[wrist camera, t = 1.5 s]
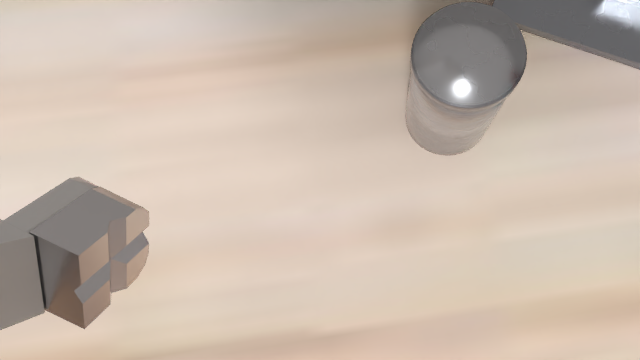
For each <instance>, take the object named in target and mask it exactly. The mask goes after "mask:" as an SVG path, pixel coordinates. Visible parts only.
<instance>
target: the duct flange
mask: <svg viewBox="0 0 640 360" xmlns="http://www.w3.org/2000/svg"><path fill="white" fill-rule="evenodd" d="M492 6H493V7H495V8H497V9H499V10H501V11H502V12H504V13H505V14H506V15H508V16H509V17H510V18H511V19H512V20H513V21H514V22H515V24H516V25H517V26H518V28H519V29H520V30H523V31H526V32H529V33H532V34H535V35H538V36H541V37H544V38H547V39H550V40H553V41H556V42H559V43H562V44H565V45H568V46H571V47H574V48H577V49H580V50H583V51H586V52H589V53H592V54H595V55H598V56H601V57H604V58H607V59H610V60H613V61H616V62H619V63H622V64H625V65H628V66H631V67H634V68H637V69H640V0H495V1H494V3H493V5H492Z"/></svg>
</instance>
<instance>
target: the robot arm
mask: <svg viewBox="0 0 640 360" xmlns="http://www.w3.org/2000/svg"><path fill="white" fill-rule="evenodd" d="M148 226H149V211H147V210H146V209H145V208H143V207H141V206H139V205H137V204H135V203H133V202H131V201H129V200H127V199H125V198H122V197H120V196H118V195H116V194H114V193H112V192H110V191H108V190H106V189H104V188H102V187H99V186H97V185H95V184H93V183H90V182H88V181H86V180H84V179H82V178H80V177H75V178H69V179H68V180H66V181H64V182H63V183H61V184H60V185H58V186H57V187H55V188H54V189H52V190H50V191H49V192H47V193H46V194H44V195H43V196H41V197H39V198H38V199H36V200H35V201H33V202H32V203H30V204H28V205H27V206H25V207H24V208H22V209H21V210H19V211H18V212H16V213H14V214H13V215H11V216H10V217H8V218H7V219H5V220H1V219H0V330H2V329H4V328H7V327H10V326H12V325H15V324H17V323H20V322H22V321H25V320H27V319H30V318H32V317H35V316H38V315H40V314H43V313H44V312H45V310H46V311H48V312H50V313H52V314H54V315H56V316H58V317H61V318H63V319H65V320H67V321H69V322H71V323H73V324H75V325H77V326H79V327H81V328H83V329H85V328H86V327H87V326H88V325H89V324H90V323H91V322H92V321H93V320H95V319H96V318H97V317H98V316H99V315H100V314H101V313H102V312H103V311H104V310H105V309H106V308H107V307H108V306H109V305H110V303H111V293H112V292H116V291H119V290H123V289H126V288H128V287H129V286H130V285H131V284H132V283H133V281H134V280H135V279H136V278H137V277H138V276H139V274H140V272H141V271H142V269H143V267H144V266H145V263H146V260H147V257H148V253H149V243H148V241H147V239H146V237H145V235H144V234H143V232H142V231H144V230H145V229H146V228H147V227H148Z"/></svg>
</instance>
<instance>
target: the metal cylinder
mask: <svg viewBox="0 0 640 360" xmlns="http://www.w3.org/2000/svg"><path fill="white" fill-rule="evenodd" d="M526 60H527V51H526V45H525V41H524V38H523V36H522V34H521V31H520V30H519V28H518V26H517V25H516V24H515V22H514V21H513V20H512V19H511V18H510V17H509V16H508V15H506V14H505V13H504V12H502V11H501V10H499V9H497V8H495V7H493V6H490V5H487V4H483V3H477V2H461V3H456V4H452V5H449V6H446V7H444V8H442V9H440V10H438V11H437V12H435V13H434V14H432V15H431V16H430V17H429V18H428V19H426V21H425V22H424V23H423V24H422V25H421V27H420V28H419V29H418V31H417V33H416V35H415V38H414V40H413V44H412V49H411V60H410V63H411V74H410V82H409V90H408V98H407V106H406V116H405V117H406V124H407V128H408V131H409V133H410V135H411V136H412V138H413V139H414V140H415V142H416V143H417V144H418V145H420V146H421V147H422V148H424V149H425V150H427V151H429V152H432V153H435V154H439V155H456V154H460V153H463V152H465V151H467V150H469V149H471V148H472V147H474V146H475V145H476V144H477V143H478V142H479V141H480V140H481V138H482V137H483V135H484V133H485V132H486V130H487V129H488V127H489V125H490V124H491V122H492V120H493V119H494V117H495V116H496V114H497V112H498V111H499V109H500V107H501V106H502V104H503V102H504V101H505V99H506V98H507V97H508V96H509V95H510V94H511V93H512V91H513V90H514V88H515V87H516V86H517V84H518V82H519V81H520V79H521V77H522V75H523V73H524V69H525V66H526Z"/></svg>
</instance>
